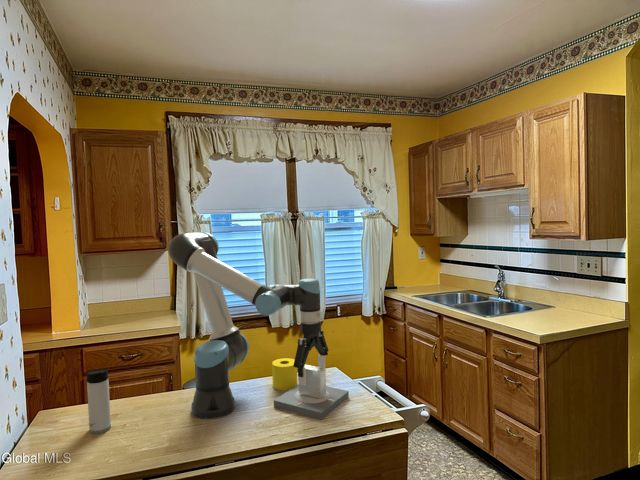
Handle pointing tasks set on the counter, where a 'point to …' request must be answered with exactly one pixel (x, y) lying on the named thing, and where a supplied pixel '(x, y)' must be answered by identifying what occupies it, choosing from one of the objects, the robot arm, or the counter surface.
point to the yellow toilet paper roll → (284, 374)
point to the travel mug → (98, 401)
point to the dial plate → (311, 402)
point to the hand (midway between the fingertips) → (312, 378)
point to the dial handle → (314, 382)
